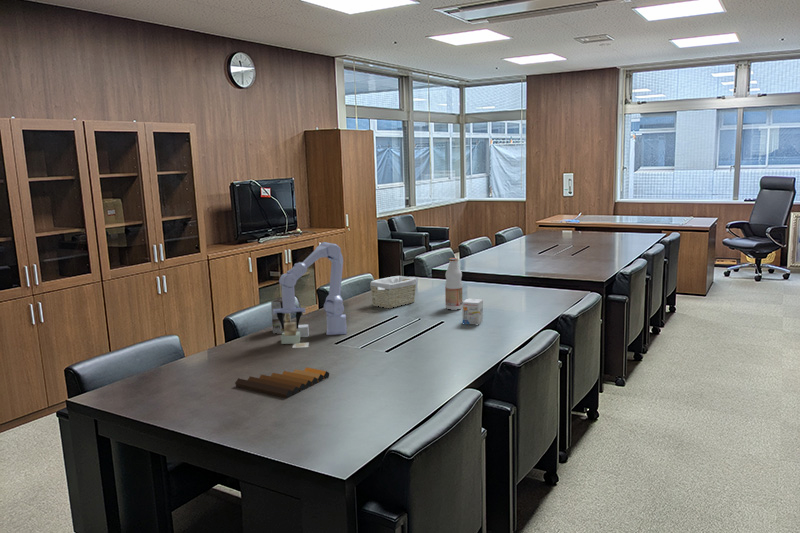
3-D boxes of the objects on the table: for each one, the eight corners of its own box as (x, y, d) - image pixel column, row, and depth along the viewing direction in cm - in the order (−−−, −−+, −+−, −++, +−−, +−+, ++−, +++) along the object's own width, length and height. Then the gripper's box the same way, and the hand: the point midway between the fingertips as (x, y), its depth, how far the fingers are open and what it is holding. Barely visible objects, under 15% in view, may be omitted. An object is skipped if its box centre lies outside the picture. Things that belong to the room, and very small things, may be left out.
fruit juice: (448, 311, 337) (447, 260, 333) (443, 307, 346) (442, 257, 342) (464, 309, 339) (464, 259, 335) (459, 305, 348) (459, 256, 344)
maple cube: (296, 332, 289) (295, 322, 289) (295, 335, 284) (295, 324, 284) (285, 333, 289) (285, 322, 288) (284, 335, 284) (283, 324, 283)
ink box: (462, 324, 309) (461, 301, 307) (466, 320, 317) (466, 298, 315) (478, 325, 306) (478, 302, 304) (483, 321, 314) (483, 299, 312)
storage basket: (398, 298, 371) (397, 274, 368) (418, 302, 360) (417, 277, 357) (369, 306, 353) (368, 281, 351) (390, 310, 342) (389, 284, 340)
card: (309, 343, 284) (309, 342, 284) (308, 347, 277) (308, 346, 277) (293, 343, 284) (293, 342, 284) (292, 348, 277) (292, 347, 277)
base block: (300, 339, 291) (300, 331, 291) (299, 343, 283) (298, 335, 283) (283, 339, 291) (282, 332, 290) (281, 344, 283) (281, 336, 282)
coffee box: (284, 334, 300) (283, 301, 298) (272, 333, 302) (270, 301, 299) (291, 329, 309) (290, 297, 306) (279, 328, 310) (277, 297, 308)
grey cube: (308, 334, 299) (308, 324, 298) (308, 337, 294) (307, 327, 293) (298, 334, 299) (297, 324, 298) (297, 337, 294) (297, 327, 293)
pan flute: (235, 388, 231) (286, 400, 218) (234, 379, 230) (285, 391, 218) (280, 368, 252) (329, 378, 239) (280, 360, 251) (329, 369, 239)
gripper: (271, 302, 279) (273, 331, 282) (304, 300, 280) (305, 329, 283) (273, 298, 286) (275, 327, 288) (305, 297, 287) (306, 325, 290)
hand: (290, 328), depth 286 cm, fingers open, 6 cm apart
